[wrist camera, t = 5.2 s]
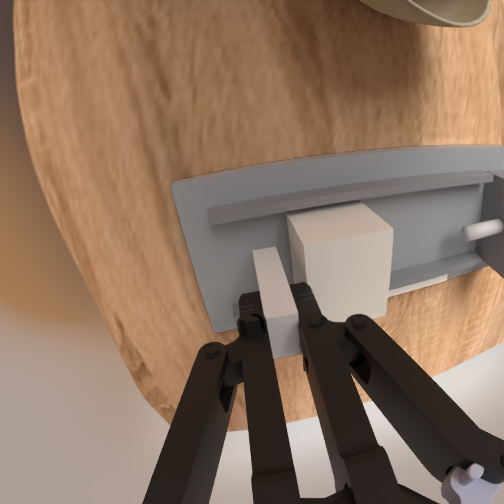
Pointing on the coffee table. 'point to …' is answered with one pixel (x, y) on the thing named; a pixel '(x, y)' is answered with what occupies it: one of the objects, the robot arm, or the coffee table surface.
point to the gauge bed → (341, 190)
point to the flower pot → (434, 11)
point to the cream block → (342, 257)
